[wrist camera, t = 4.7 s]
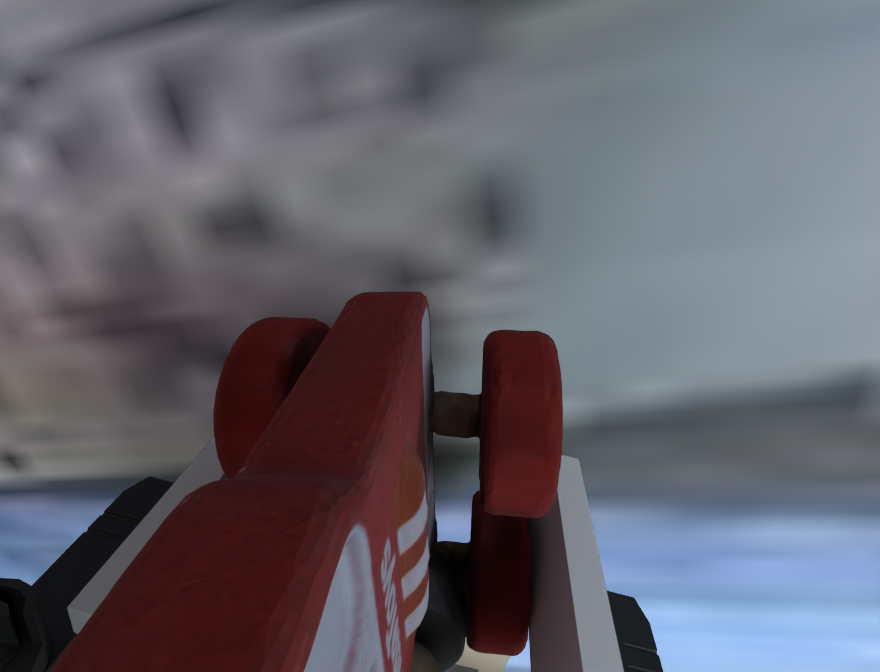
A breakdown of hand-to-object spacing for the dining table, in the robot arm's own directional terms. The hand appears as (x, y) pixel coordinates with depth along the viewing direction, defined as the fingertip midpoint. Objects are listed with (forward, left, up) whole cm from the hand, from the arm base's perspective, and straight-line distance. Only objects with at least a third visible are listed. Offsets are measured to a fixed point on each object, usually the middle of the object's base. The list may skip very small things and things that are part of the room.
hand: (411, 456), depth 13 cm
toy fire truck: (0, 0, -1) cm, 1 cm away
